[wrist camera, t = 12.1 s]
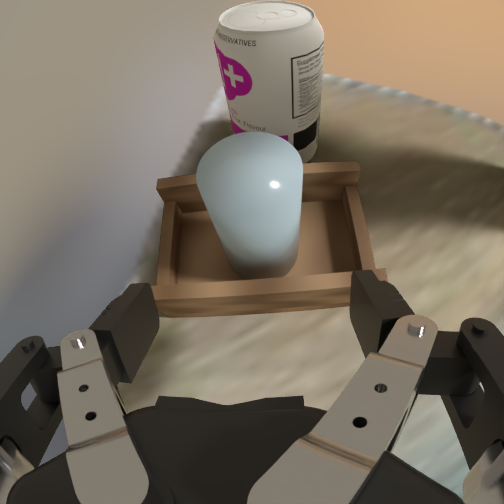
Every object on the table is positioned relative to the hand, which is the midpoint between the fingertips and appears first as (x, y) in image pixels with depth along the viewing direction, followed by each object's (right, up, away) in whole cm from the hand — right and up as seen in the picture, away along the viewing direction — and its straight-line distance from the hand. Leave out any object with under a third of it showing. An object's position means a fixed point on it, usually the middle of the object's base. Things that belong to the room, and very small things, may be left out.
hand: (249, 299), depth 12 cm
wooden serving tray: (+1, +2, +14) cm, 14 cm away
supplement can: (+3, +13, +19) cm, 23 cm away
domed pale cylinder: (+1, +2, +13) cm, 13 cm away
